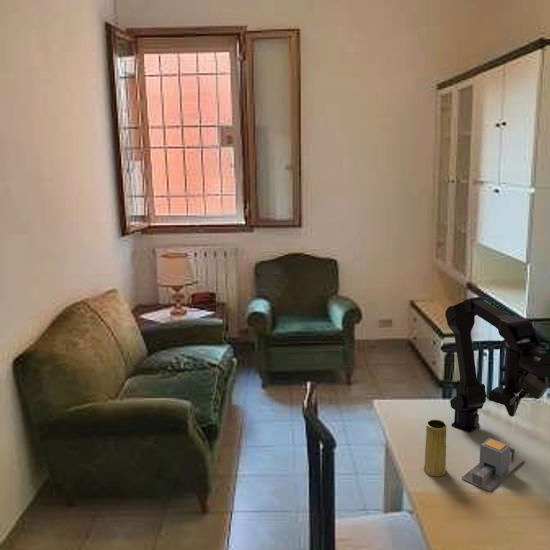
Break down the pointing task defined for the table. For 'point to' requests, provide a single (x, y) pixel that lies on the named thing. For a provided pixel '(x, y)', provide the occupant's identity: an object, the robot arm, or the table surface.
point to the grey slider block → (495, 455)
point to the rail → (497, 478)
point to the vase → (435, 448)
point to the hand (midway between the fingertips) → (511, 415)
